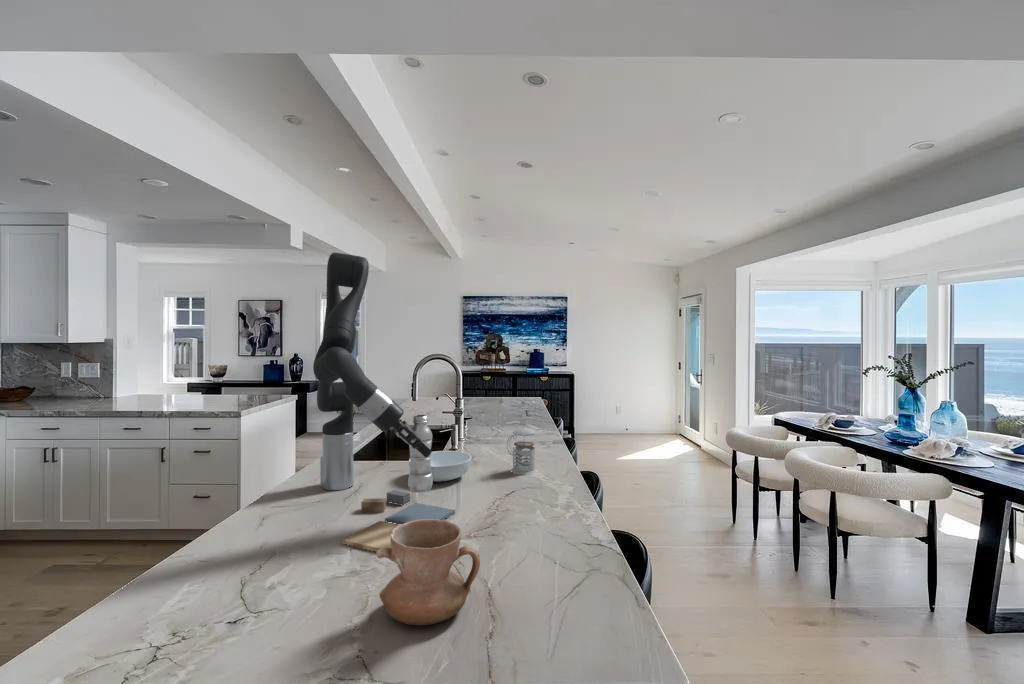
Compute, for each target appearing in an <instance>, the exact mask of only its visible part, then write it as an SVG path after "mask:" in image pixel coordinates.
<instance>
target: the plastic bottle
mask: <svg viewBox="0 0 1024 684" xmlns="http://www.w3.org/2000/svg"><path fill="white" fill-rule="evenodd" d="M412 419H413V420H412V423H413V425H412V427H411V429H412V430H413V431H414V432H415V433H416V434H417V435H416V436H417V437H418V438H419V439H421V440H422V443H424V444H425V445H426V446H427V447H428V448H429V449H430V450H431V451H432V445H433V432H432V430H431V429H430V427H429V426H428V415H427V414H414V415H413V418H412ZM415 441H416V439H415V438H414V439H413V440H412V441H411V442H412V443H414V442H415ZM408 447H409V459H410V466H409V474H408V480H407V485H408V489H409V490H410V491H411V492H414V493H425V492H428V491H430V490H431V488H432V487H433V483H434V482H433V477H432V473H431V462H430V455H431V454H430V455H429V456H428V457H427V458H426V457H424V456H423V455H422V454H421V453H420V452H419V451H418V450H417V449H414V448H412V446H411V445H410V444H408Z"/></svg>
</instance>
